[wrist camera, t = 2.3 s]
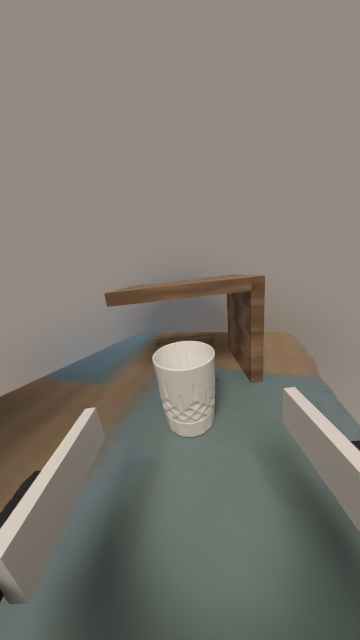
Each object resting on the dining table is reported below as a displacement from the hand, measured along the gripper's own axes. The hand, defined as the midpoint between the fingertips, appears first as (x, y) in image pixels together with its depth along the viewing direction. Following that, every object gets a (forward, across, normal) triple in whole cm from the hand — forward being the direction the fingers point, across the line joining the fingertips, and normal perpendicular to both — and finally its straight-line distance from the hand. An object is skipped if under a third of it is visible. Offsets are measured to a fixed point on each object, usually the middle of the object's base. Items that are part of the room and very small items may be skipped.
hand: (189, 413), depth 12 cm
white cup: (+10, 0, -10) cm, 14 cm away
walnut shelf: (+23, +1, -10) cm, 25 cm away
